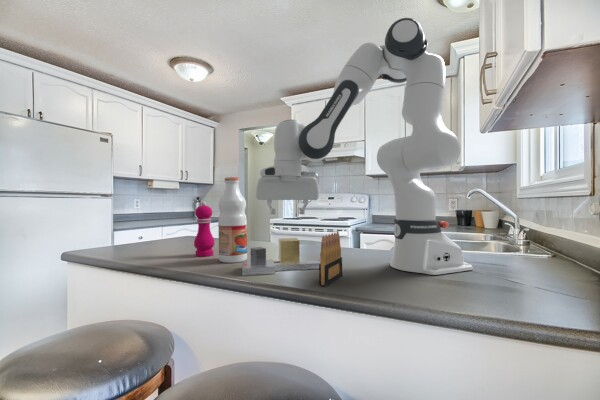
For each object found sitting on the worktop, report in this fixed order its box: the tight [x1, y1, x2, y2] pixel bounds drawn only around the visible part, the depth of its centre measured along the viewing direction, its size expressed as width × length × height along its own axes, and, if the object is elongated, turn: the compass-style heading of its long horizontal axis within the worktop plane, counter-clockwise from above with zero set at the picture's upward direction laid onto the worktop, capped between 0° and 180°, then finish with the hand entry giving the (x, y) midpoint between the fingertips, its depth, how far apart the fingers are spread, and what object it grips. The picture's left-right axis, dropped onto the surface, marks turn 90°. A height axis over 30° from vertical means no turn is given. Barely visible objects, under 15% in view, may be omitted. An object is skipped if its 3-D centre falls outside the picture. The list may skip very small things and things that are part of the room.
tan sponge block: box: [278, 237, 301, 263], centre depth 96 cm, size 6×6×8 cm
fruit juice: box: [217, 176, 248, 264], centre depth 100 cm, size 9×9×28 cm
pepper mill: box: [193, 200, 215, 258], centre depth 109 cm, size 7×7×20 cm
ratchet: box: [241, 246, 320, 276], centre depth 88 cm, size 27×9×6 cm, turn 100°
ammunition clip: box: [318, 231, 343, 287], centre depth 75 cm, size 11×2×12 cm, turn 150°
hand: (287, 214), depth 95 cm, fingers open, 8 cm apart
